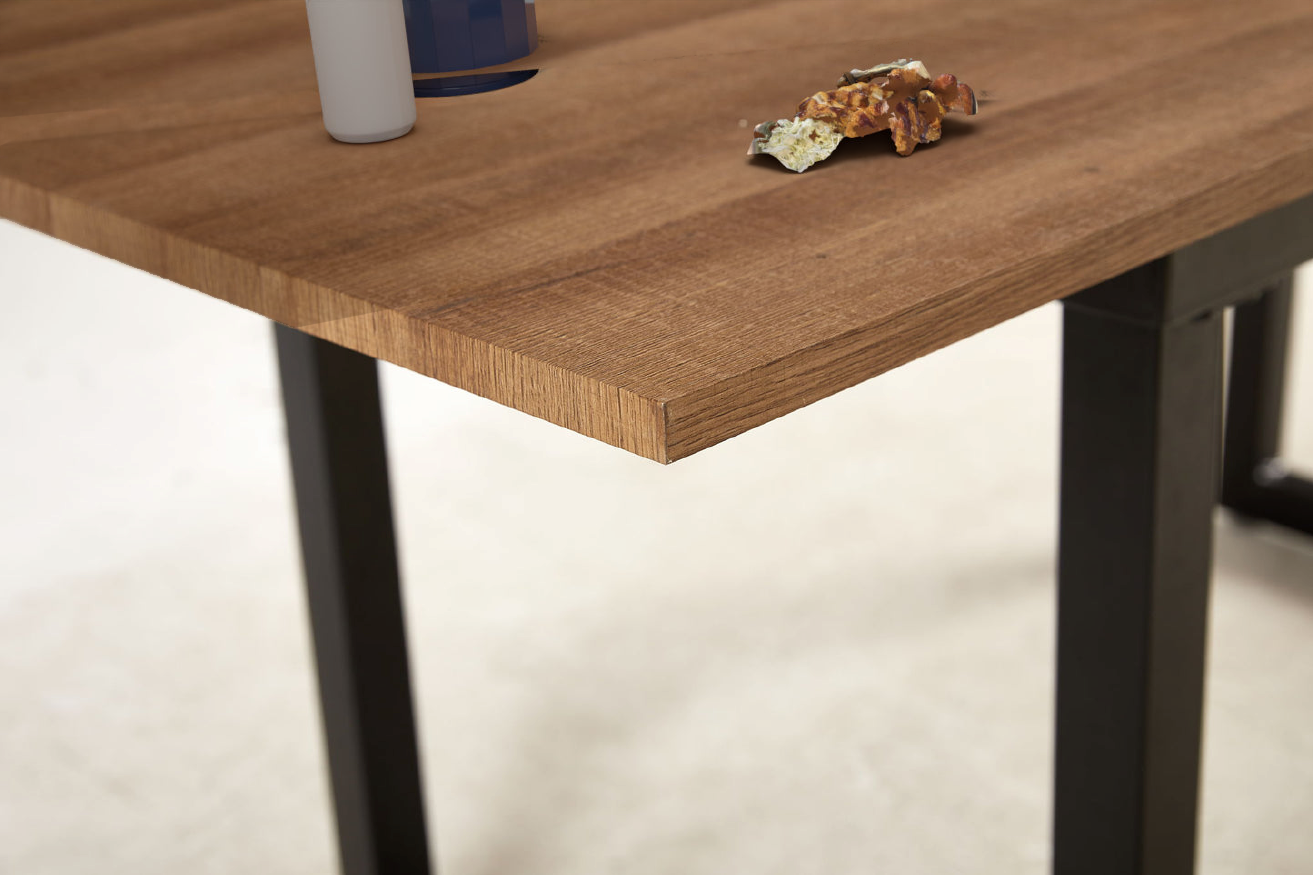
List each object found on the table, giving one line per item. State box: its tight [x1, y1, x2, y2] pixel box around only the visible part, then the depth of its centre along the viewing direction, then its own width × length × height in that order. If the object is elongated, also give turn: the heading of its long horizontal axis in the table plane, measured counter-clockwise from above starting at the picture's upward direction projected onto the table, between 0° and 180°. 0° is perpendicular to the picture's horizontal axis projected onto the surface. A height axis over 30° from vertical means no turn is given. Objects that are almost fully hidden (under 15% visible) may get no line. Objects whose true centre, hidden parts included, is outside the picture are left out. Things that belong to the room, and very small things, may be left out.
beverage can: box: [305, 0, 418, 144], centre depth 79 cm, size 5×5×12 cm
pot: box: [402, 0, 540, 99], centre depth 91 cm, size 10×10×8 cm
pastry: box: [746, 57, 979, 173], centre depth 75 cm, size 7×12×4 cm, turn 133°
